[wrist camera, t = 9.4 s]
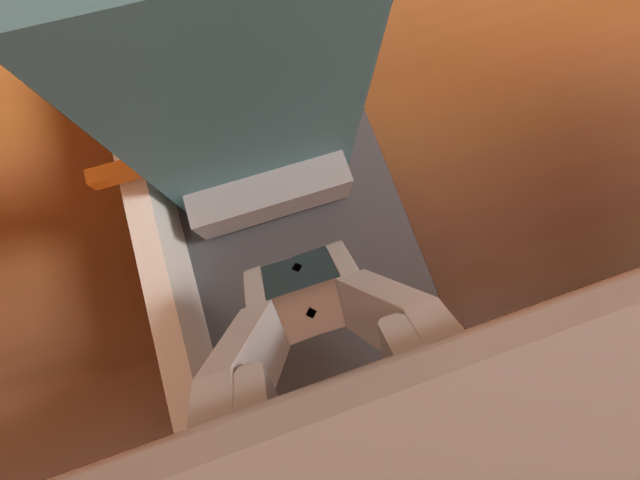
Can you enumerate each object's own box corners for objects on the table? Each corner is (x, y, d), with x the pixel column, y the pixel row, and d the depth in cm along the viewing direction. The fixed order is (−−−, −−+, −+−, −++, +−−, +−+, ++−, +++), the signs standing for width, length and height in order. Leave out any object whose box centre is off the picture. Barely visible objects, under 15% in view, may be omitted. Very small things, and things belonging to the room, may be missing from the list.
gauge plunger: (325, 106, 17) (349, -184, 7) (358, 193, 16) (438, 2, 6) (126, 160, 16) (-179, -88, 6) (148, 257, 15) (-173, 154, 5)
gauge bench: (291, -49, 21) (272, -462, 10) (480, 432, 15) (959, 775, 4) (104, -8, 20) (-163, -423, 9) (233, 531, 14) (-66, 1406, 3)
